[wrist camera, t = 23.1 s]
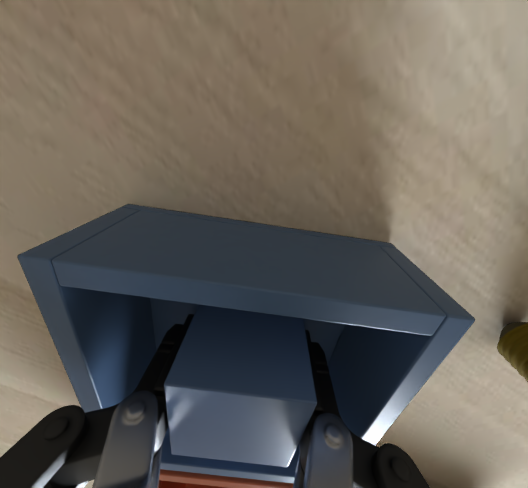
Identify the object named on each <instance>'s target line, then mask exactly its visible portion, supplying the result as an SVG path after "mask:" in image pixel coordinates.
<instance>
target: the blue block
mask: <svg viewBox="0 0 528 488" xmlns="http://www.w3.org/2000/svg"><path fill="white" fill-rule="evenodd" d="M164 390H165V399H166V408H167V417H168V426H169V435H170V445H171V454H173V455H182V456H190V457H199V458H208V459H217V460H226V461H235V462H244V463H253V464H262V465H271V466H280V467H288V466H289V464H290V461H291V459H292V457H293V455H294V453H295V451H296V448H297V446H298V444H299V442H300V440H301V437H302V435H303V433H304V431H305V429H306V427H307V424H308V422H309V420H310V418H311V416H312V413H313V411H314V409H315V407H316V405H317V398H316V392H315V387H314V381H313V375H312V369H311V363H310V357H309V351H308V345H307V339H306V333H305V327H304V321H303V318H296V317H289V316H281V315H274V314H266V313H259V312H252V311H244V310H237V309H230V308H222V307H215V306H207V305H200V304H199V305H198V307H197V310H196V312H195V314H194V317H193V319H192V321H191V323H190V326H189V328H188V330H187V333H186V335H185V337H184V339H183V342H182V344H181V346H180V349H179V351H178V353H177V355H176V358H175V360H174V362H173V364H172V367H171V369H170V371H169V374H168V376H167V378H166V380H165V383H164Z"/></svg>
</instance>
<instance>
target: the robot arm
mask: <svg viewBox="0 0 528 488" xmlns="http://www.w3.org/2000/svg"><path fill="white" fill-rule="evenodd" d="M193 317H194V314H189V315H188V316H187V318H186V320H185V322H184V324H175V325H173V326H172V327H171V328H170V329H169V330H168V331H167V332H166V334H165V336H164V338H163V339H162V341H161V344H160V345H159V347H158V349H157V351H156V352H155V354H154V356H153V358H152V360H151V362H150V364H149V365H148V367H147V369H146V371H145V373H144V375H143V376H142V378H141V380H140V382H139V384H138V386H137V387H136V389H135V390H134V391H133V393H132V394H130V395H129V396H127V397H126V398H125V399H124V400H122V401H121V402H120V403H118V404H116V405H114V406H111V407H107V408H103V409H99V410H94V411H90V412H86V413H85V412H84V410H83V409H82V408H81V407H79V406H76V405H69V406H64V407H61V408H59V409H57V410H55V411H53V412H51V413H50V414H48V415H47V416H46V417H44V418H43V419H42V420H41V421H40V422H39V423H38V424H37V425H35V426H34V427H33V428H32V429H31V430H30V431H29V432H28V433H27V434H26V435H25V436H23V437H22V438H21V439H20V440H19V441H18V442H17V443H16V444H15V445H14V446H12V447H11V448H10V449H9V450H8V451H7V452H6V453H5V454H4V455H3V456H2V457H0V488H84V487H85V486H86V484H87V483H88V482H89V481H91V480H94V479H95V480H94V484H93V487H92V488H158V486H159V476H160V466H161V456H162V446H163V439H164V436H165V434H166V431H167V428H168V417H167V408H166V399H165V390H164V383H165V380H166V378H167V376H168V374H169V371H170V369H171V367H172V364H173V362H174V360H175V358H176V355H177V353H178V351H179V349H180V346H181V344H182V342H183V339H184V337H185V335H186V333H187V330H188V328H189V326H190V323H191V321H192V319H193ZM305 333H306V339H307V345H308V351H309V357H310V363H311V369H312V375H313V381H314V387H315V392H316V398H317V405H316V407H315V409H314V411H313V413H312V416H311V418H310V420H309V422H308V424H307V427H306V429H305V431H304V433H303V435H302V437H301V440H300V442H299V449H300V453H299V455H298V460H297V466H296V472H295V478H294V484H293V488H430V487H429V485H428V484H427V482H426V480H425V479H424V477H423V476H422V474H421V472H420V471H419V469H418V468H417V466H416V464H415V463H414V461H413V460H412V459H411V458H410V456H409V455H408V454H407V453H406V452H405V451H403V450H402V449H401V448H399V447H398V446H396V445H393V444H384V445H382V446H381V447H380V448H379V447H377V446H375V445H373V444H371V443H369V442H367V441H365V440H363V439H362V438H360V437H358V436H356V435H355V434H354V433H352V432H351V431H350V430H349V429H348V427H347V426H346V424H345V423H344V422H343V420H342V418H341V416H340V414H339V410H338V406H337V402H336V398H335V394H334V390H333V385H332V381H331V377H330V375H329V369H328V366H327V360H326V356H325V352H324V351H323V349H322V348H321V346H320V345H319V343H317V342H311V338H310V333H309V330H305Z"/></svg>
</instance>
